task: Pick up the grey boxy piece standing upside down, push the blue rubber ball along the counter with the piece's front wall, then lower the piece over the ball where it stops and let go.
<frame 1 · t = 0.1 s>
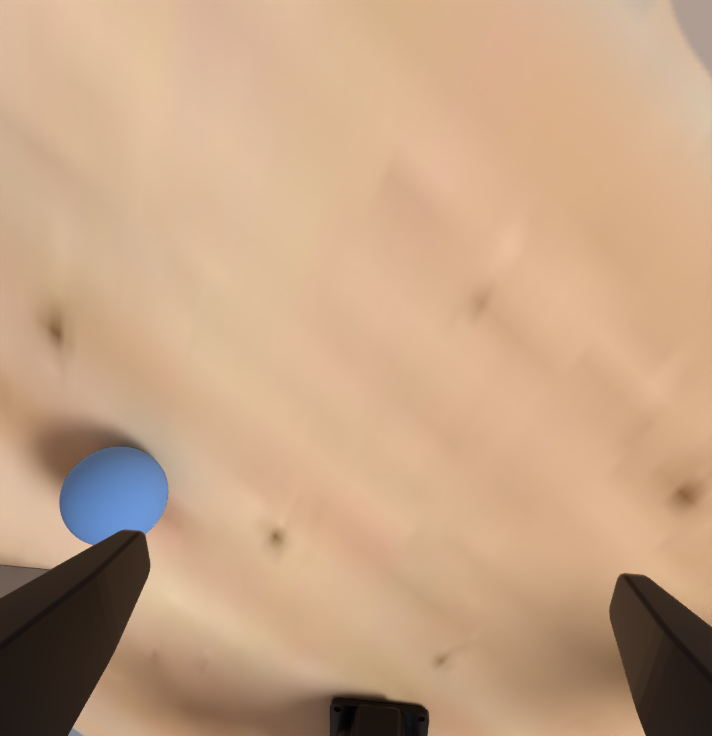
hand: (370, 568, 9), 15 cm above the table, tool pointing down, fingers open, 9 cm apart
ball: (116, 495, 25), on the table
grey boxy piece: (27, 611, 32), on the table
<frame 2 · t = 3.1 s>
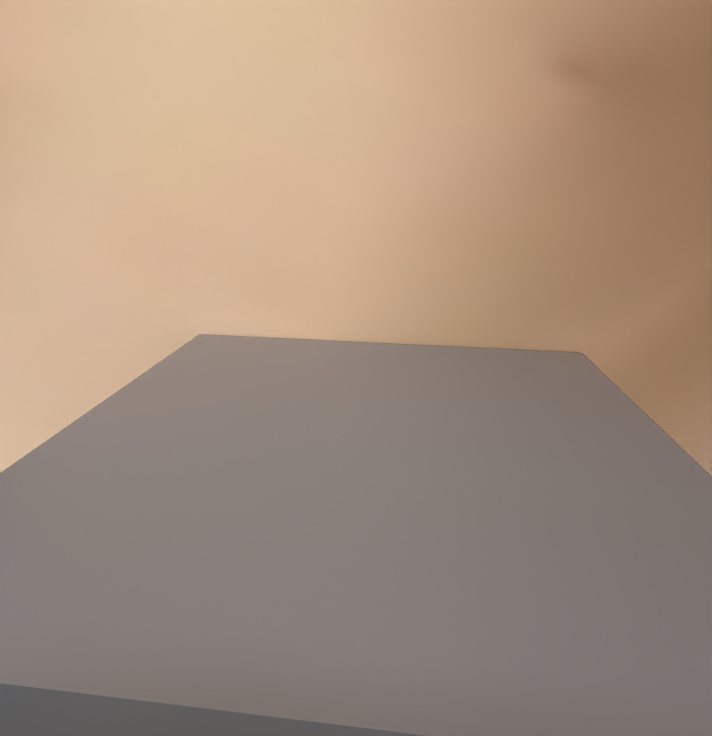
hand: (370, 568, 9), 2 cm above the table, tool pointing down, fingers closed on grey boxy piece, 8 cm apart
grey boxy piece: (377, 502, 11), on the table, touching gripper
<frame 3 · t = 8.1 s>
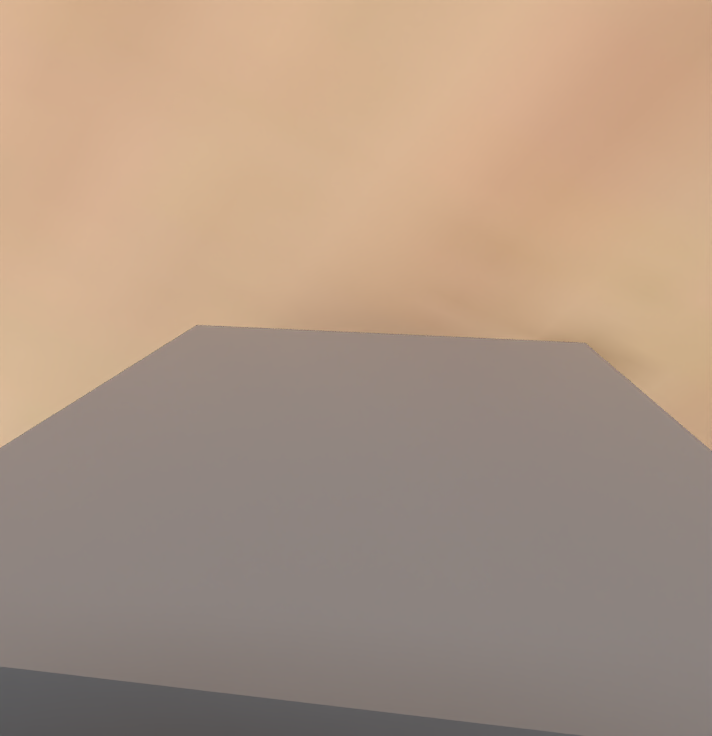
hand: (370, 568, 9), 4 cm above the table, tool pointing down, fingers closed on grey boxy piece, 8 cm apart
grey boxy piece: (377, 497, 11), point 2 cm above the table, touching gripper
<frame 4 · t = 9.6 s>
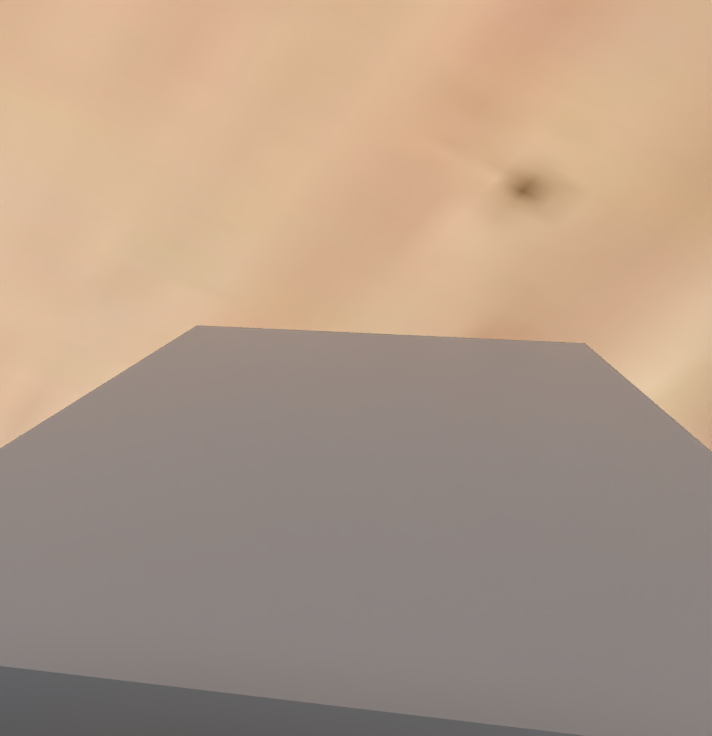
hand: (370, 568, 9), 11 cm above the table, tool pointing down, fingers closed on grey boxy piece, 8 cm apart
grey boxy piece: (377, 497, 11), point 9 cm above the table, touching gripper
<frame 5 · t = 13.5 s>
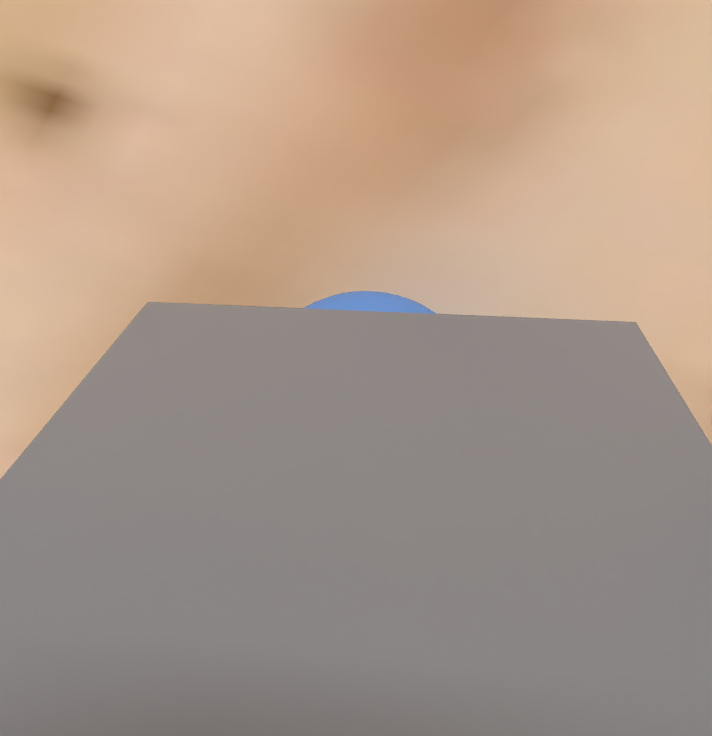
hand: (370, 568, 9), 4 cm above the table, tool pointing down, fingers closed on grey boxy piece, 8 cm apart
ball: (365, 411, 10), on the table, touching grey boxy piece
grey boxy piece: (377, 466, 10), point 3 cm above the table, tilted 19°, touching ball, gripper
when the fingers open (3 cm above the table, at t = 14.6 s): grey boxy piece stays where it is, point 2 cm above the table.
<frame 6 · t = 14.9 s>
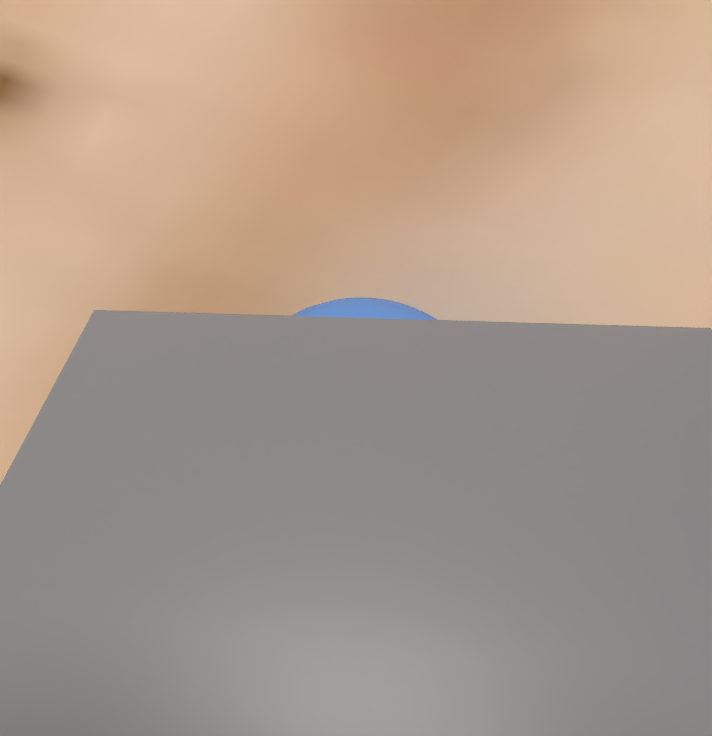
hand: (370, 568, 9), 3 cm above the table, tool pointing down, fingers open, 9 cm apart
ball: (360, 437, 9), on the table
grey boxy piece: (383, 458, 9), point 2 cm above the table, tilted 32°, touching gripper
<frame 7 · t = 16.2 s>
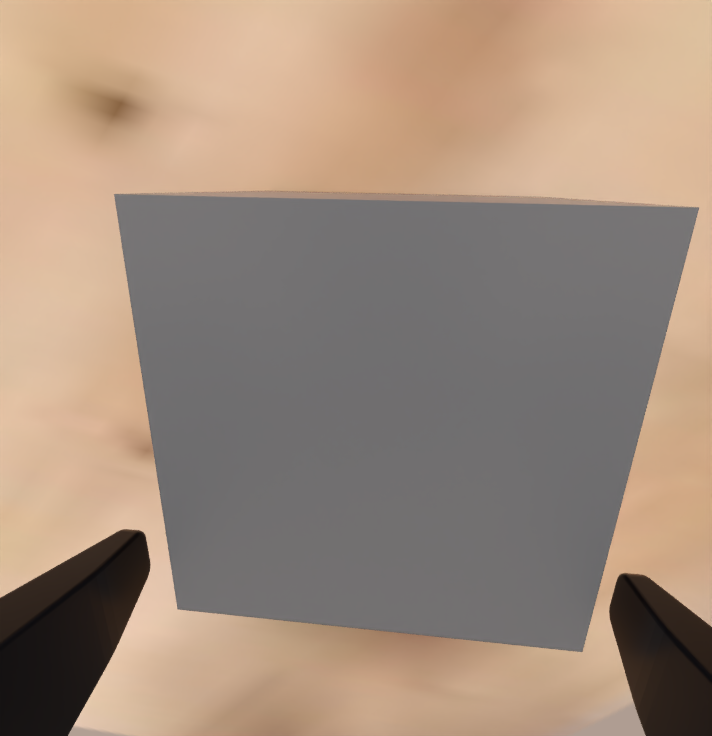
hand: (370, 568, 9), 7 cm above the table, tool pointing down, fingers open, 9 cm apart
grey boxy piece: (393, 328, 14), on the table
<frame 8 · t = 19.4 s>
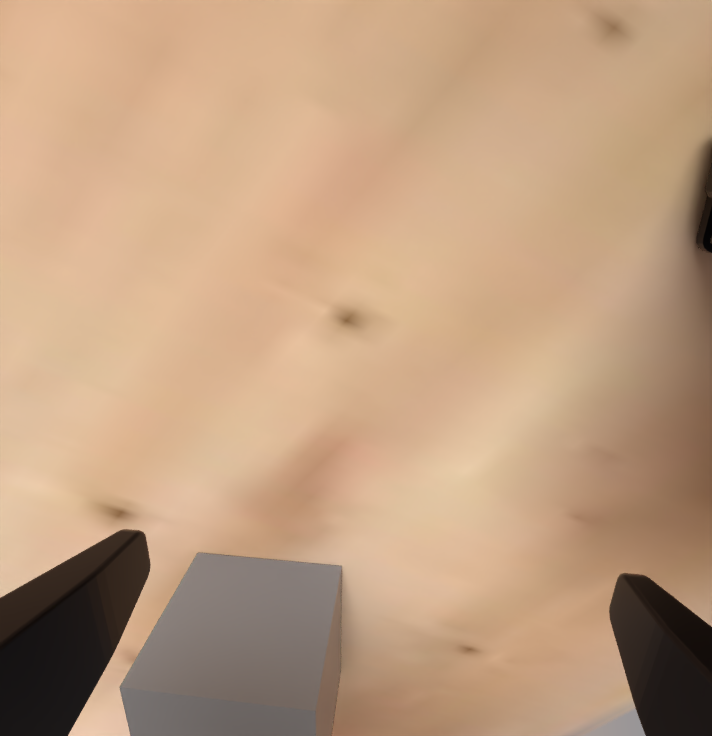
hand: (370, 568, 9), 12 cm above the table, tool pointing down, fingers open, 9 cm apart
grey boxy piece: (271, 614, 26), on the table
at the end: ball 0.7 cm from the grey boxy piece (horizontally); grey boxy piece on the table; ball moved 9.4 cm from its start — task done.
